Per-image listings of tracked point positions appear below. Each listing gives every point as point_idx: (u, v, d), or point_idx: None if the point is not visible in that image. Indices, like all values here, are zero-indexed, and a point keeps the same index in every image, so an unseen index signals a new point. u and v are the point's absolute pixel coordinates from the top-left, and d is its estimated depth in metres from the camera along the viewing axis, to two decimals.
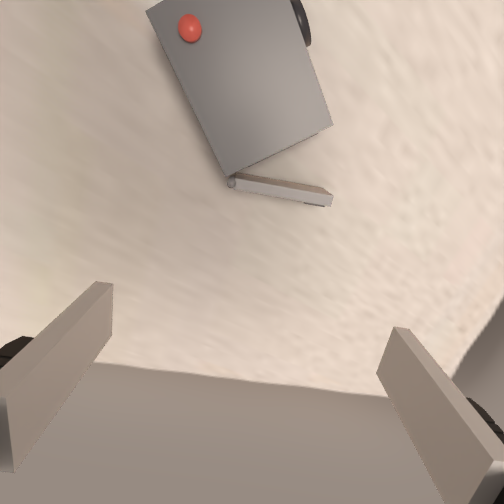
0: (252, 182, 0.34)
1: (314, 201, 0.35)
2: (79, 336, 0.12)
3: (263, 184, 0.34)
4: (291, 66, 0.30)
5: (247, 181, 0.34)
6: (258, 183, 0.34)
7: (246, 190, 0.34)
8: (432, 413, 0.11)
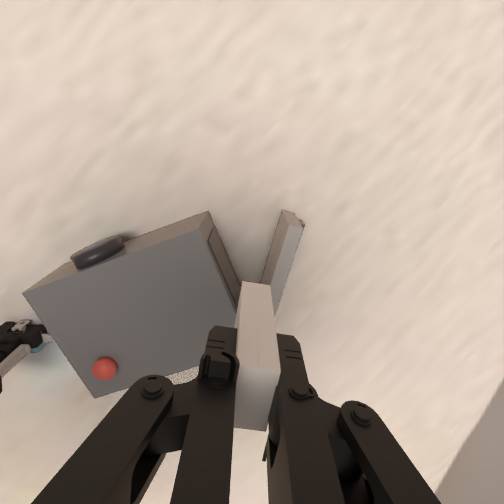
0: None
1: (293, 249, 0.26)
2: None
3: None
4: (134, 275, 0.26)
5: None
6: None
7: None
8: None
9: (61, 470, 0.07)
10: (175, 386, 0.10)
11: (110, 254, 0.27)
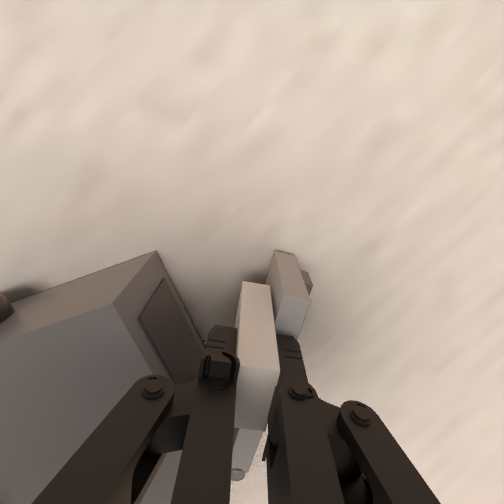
0: (236, 444, 0.16)
1: (292, 335, 0.14)
2: None
3: None
4: (4, 380, 0.14)
5: (234, 451, 0.17)
6: (239, 434, 0.16)
7: (252, 453, 0.17)
8: None
9: (61, 470, 0.07)
10: (175, 386, 0.10)
11: None
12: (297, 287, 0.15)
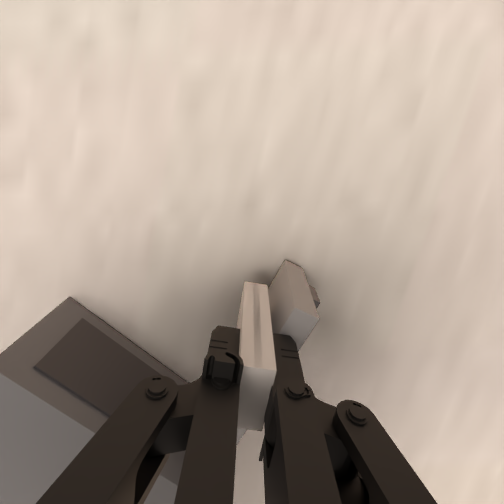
0: None
1: None
2: None
3: None
4: None
5: None
6: None
7: None
8: None
9: (65, 470, 0.07)
10: (179, 386, 0.10)
11: None
12: (306, 302, 0.14)
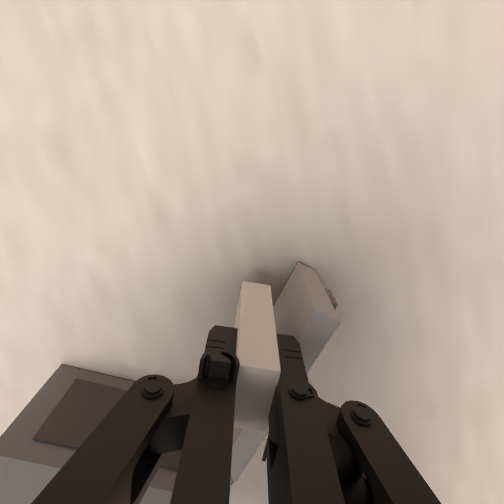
0: (232, 450, 0.16)
1: (313, 352, 0.14)
2: None
3: (242, 435, 0.16)
4: None
5: None
6: (237, 442, 0.16)
7: (245, 462, 0.17)
8: None
9: (61, 470, 0.07)
10: (175, 386, 0.10)
11: None
12: (325, 305, 0.15)
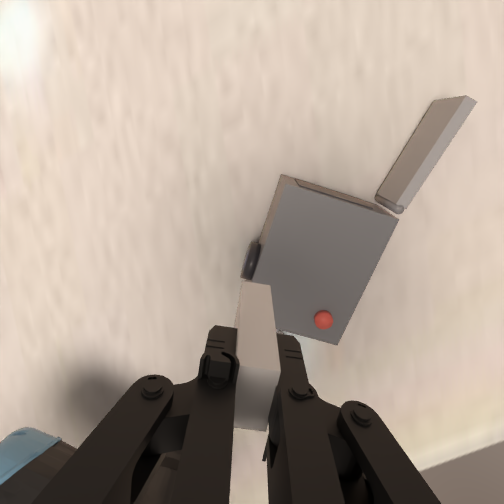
0: (408, 187, 0.31)
1: (461, 121, 0.29)
2: None
3: (415, 176, 0.31)
4: (281, 248, 0.33)
5: (404, 192, 0.31)
6: (412, 181, 0.31)
7: (413, 195, 0.31)
8: None
9: (60, 470, 0.07)
10: (175, 386, 0.10)
11: (258, 253, 0.35)
12: None
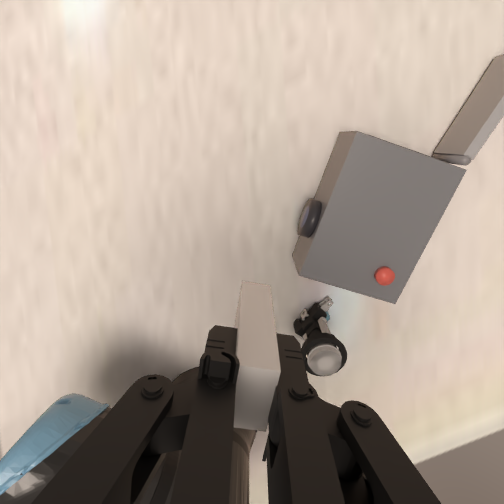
0: (476, 137, 0.31)
1: None
2: None
3: (484, 125, 0.31)
4: (347, 200, 0.33)
5: (472, 142, 0.32)
6: (480, 130, 0.31)
7: (481, 146, 0.32)
8: None
9: (60, 471, 0.07)
10: (175, 386, 0.10)
11: (320, 208, 0.35)
12: None
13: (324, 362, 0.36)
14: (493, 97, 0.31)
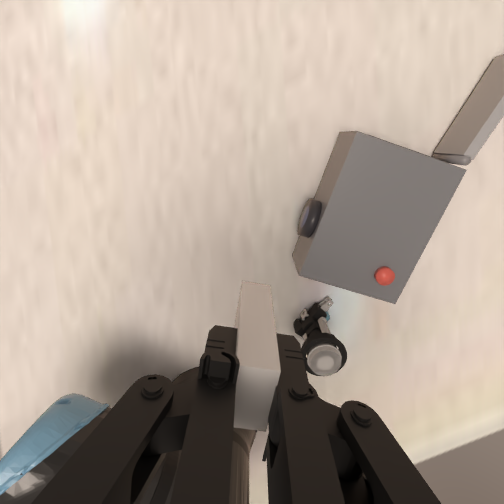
0: (476, 137, 0.31)
1: None
2: None
3: (484, 125, 0.31)
4: (347, 200, 0.33)
5: (472, 142, 0.32)
6: (480, 130, 0.31)
7: (481, 146, 0.32)
8: None
9: (60, 471, 0.07)
10: (175, 386, 0.10)
11: (320, 208, 0.35)
12: None
13: (324, 362, 0.36)
14: (493, 97, 0.31)
